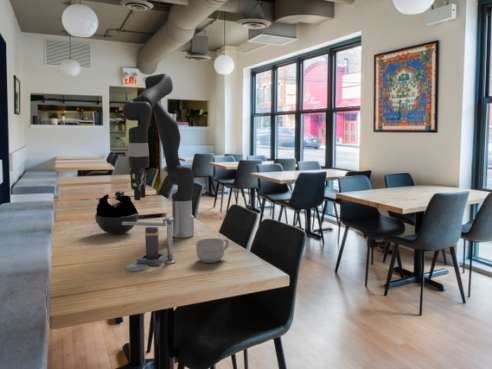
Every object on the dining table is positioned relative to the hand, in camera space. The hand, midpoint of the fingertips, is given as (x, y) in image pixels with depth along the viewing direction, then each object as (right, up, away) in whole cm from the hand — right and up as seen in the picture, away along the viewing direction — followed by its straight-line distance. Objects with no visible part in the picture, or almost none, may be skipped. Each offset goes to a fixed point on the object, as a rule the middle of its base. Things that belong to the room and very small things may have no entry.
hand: (140, 198), depth 166 cm
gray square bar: (+4, -10, -3) cm, 11 cm away
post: (+12, -24, -2) cm, 27 cm away
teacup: (+28, -24, +1) cm, 37 cm away
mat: (+1, -25, -9) cm, 26 cm away
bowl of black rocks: (-21, -19, +42) cm, 51 cm away
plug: (+5, -24, -1) cm, 24 cm away
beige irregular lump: (-26, -15, +70) cm, 76 cm away
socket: (+5, -24, -1) cm, 24 cm away
